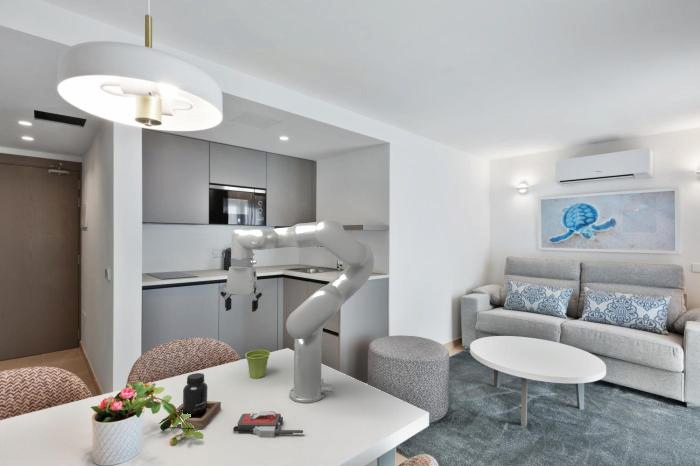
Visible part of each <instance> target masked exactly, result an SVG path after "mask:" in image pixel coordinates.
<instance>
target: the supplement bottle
mask: <svg viewBox="0 0 700 466" xmlns="http://www.w3.org/2000/svg"><path fill="white" fill-rule="evenodd" d="M182 389H183V390H182V404H183V414H187V413H188V414H191V417H189V418H202V417H203V416H204V415H205V414H206V413H207V401H208V384H207V383H206V382H205V374H204V373H200V372H198V373H197V372H195V373H191V374H189V375H188V376H187V377H186V385H185V386H184V387H183V388H182Z"/></svg>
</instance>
